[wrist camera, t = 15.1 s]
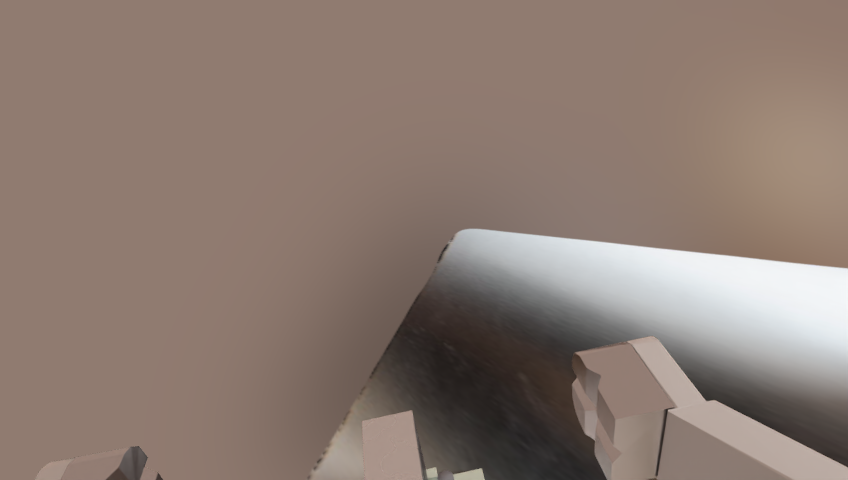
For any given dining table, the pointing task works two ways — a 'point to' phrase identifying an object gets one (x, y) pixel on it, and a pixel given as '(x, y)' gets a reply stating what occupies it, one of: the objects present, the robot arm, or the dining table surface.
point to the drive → (392, 448)
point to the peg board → (455, 475)
